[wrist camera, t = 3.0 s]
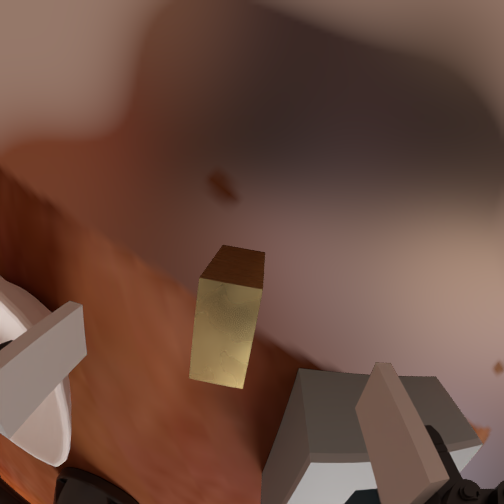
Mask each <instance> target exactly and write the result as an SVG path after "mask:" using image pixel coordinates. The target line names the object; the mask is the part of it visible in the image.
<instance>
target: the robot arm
mask: <svg viewBox="0 0 504 504" xmlns="http://www.w3.org/2000/svg"><path fill="white" fill-rule="evenodd" d="M86 355H87V350H86V341H85V332H84V320H83V306H82V305H81V304H78V303H75V302H72V301H69V302H67V303H66V304H64V305H63V306H61V307H60V308H58V309H57V310H55V311H54V312H53V313H51V314H50V315H48V316H47V317H45V318H44V319H43V320H41V321H40V322H38V323H37V324H36V325H34V326H33V327H31V328H30V329H29V330H27V331H26V332H24V333H23V334H22V335H20V336H19V337H18V338H16V339H15V340H14V341H13V340H10V341H7V342H4V343H1V344H0V433H1V434H2V435H4V436H5V437H6V438H8V439H10V438H11V437H12V436H13V435H14V433H15V432H16V431H17V430H18V429H19V428H20V427H21V425H22V424H23V423H24V422H25V421H26V420H27V419H28V417H29V416H30V415H31V414H32V413H33V412H34V411H35V410H36V408H37V407H38V406H39V405H40V404H41V403H42V402H43V401H44V400H45V399H46V397H47V396H48V395H49V394H50V393H51V392H52V391H53V390H54V389H55V388H56V387H57V385H58V384H59V383H60V382H61V381H62V380H63V379H64V378H65V377H66V376H67V375H68V374H69V373H70V372H71V371H72V369H73V368H74V367H75V366H76V365H77V364H78V363H79V362H80V361H81V360H82V359H83V358H84V357H85V356H86ZM355 410H356V414H357V417H358V420H359V424H360V427H361V430H362V434H363V437H364V441H365V444H366V448H367V451H368V455H369V459H370V462H371V466H372V470H373V473H374V477H375V481H376V485H377V489H378V493H379V497H380V501H381V504H504V481H502V482H501V483H500V484H499V485H498V486H497V487H496V488H495V489H480V487H479V486H478V485H477V484H476V483H475V482H473V481H471V480H467V479H462V477H461V475H460V473H459V471H458V469H457V467H456V465H455V463H454V461H453V459H452V457H451V455H450V453H449V452H448V449H447V447H446V445H445V444H444V441H443V439H442V437H441V435H440V434H439V432H438V431H437V430H435V429H434V428H433V427H432V426H431V425H424V424H423V422H422V420H421V418H420V416H419V414H418V412H417V410H416V409H415V407H414V405H413V403H412V401H411V399H410V397H409V395H408V394H407V392H406V390H405V388H404V386H403V384H402V382H401V381H400V379H399V377H398V375H397V373H396V372H395V370H394V368H393V366H392V364H391V363H379V362H376V363H375V366H374V368H373V370H372V372H371V375H370V377H369V379H368V382H367V384H366V386H365V388H364V390H363V392H362V395H361V397H360V399H359V401H358V403H357V405H356V407H355ZM0 477H1V476H0ZM0 504H31V503H29V502H28V501H27V500H26V499H24V498H23V497H22V496H21V495H20V494H18V493H17V492H16V491H15V490H14V489H13V488H11V487H10V486H9V485H8V484H7V483H6V482H5V481H4V480H3V479H1V478H0ZM53 504H138V503H137V502H136V501H135V500H134V499H133V498H132V497H130V496H129V495H128V494H126V493H125V492H123V491H122V490H120V489H119V488H117V487H116V486H114V485H112V484H110V483H109V482H107V481H105V480H103V479H101V478H99V477H97V476H95V475H93V474H90V473H88V472H85V471H83V470H80V469H76V468H70V467H66V468H63V469H62V471H61V472H60V474H59V475H58V477H57V480H56V487H55V494H54V502H53Z"/></svg>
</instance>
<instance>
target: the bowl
mask: <svg viewBox="0 0 504 504" xmlns="http://www.w3.org/2000/svg"><path fill="white" fill-rule="evenodd" d="M51 313H52V312H51V311H50V310H48V309H47V308H46V307H45V306H44V305H43V304H42V303H41V302H40V301H39V300H37V299H36V298H35V297H34V296H33V295H31V294H30V293H29V292H27V291H26V290H24V289H22V288H21V287H19V286H17V285H14V284H12V283H10V282H8V281H6V280H5V279H3V278H2V277H1V276H0V344H1V343H4V342H7V341H10V340H13V341H14V340H15V339H16V338H18V337H19V336H20V335H22V334H23V333H24V332H26V331H27V330H29V329H30V328H31V327H33V326H34V325H36V324H37V323H38V322H40V321H41V320H43V319H44V318H45V317H47V316H48V315H50V314H51ZM9 440H11V441H12V442H13V443H15V444H16V445H17V446H19V447H20V448H22V449H23V450H25V451H26V452H28V453H29V454H31V455H33V456H34V457H36V458H37V459H39V460H41V461H44V462H46V463H48V464H50V465H52V466H54V467H58V466H60V465H61V464H62V463H64V462H65V461H66V460H67V457H68V454H69V451H70V442H71V396H70V383H69V377H68V375H67V376H66V377H65V378H64V379H63V380H62V381H61V382H60V383H59V384H58V385H57V387H56V388H55V389H54V390H53V391H52V392H51V393H50V394H49V395H48V396H47V397H46V399H45V400H44V401H43V402H42V403H41V404H40V405H39V406H38V407H37V408H36V410H35V411H34V412H33V413H32V414H31V415H30V416H29V417H28V419H27V420H26V421H25V422H24V423H23V424H22V425H21V427H20V428H19V429H18V430H17V431H16V432H15V433H14V435H13V436H12V437H11V438H10V439H9Z"/></svg>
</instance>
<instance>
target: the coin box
mask: <svg viewBox="0 0 504 504" xmlns="http://www.w3.org/2000/svg"><path fill="white" fill-rule="evenodd" d="M369 377H370V375H365V374H352V373H340V372H329V371H320V370H311V369H302V368H299V370H298V373H297V376H296V379H295V382H294V386H293V389H292V392H291V395H290V398H289V401H288V404H287V407H286V410H285V413H284V416H283V419H282V421H281V424H280V427H279V430H278V433H277V435H276V438H275V441H274V444H273V446H272V449H271V452H270V454H269V457H268V460H267V462H266V465H265V467H264V470H263V472H262V487H261V504H381V501H380V497H379V493H378V489H377V485H376V481H375V477H374V473H373V470H372V466H371V462H370V459H369V455H368V451H367V448H366V444H365V441H364V437H363V434H362V430H361V427H360V424H359V420H358V417H357V414H356V410H355V407H356V405H357V403H358V401H359V399H360V397H361V395H362V392H363V390H364V388H365V386H366V384H367V382H368V379H369ZM398 377H399V379H400V381H401V382H402V384H403V386H404V388H405V390H406V392H407V394H408V395H409V397H410V399H411V401H412V403H413V405H414V407H415V409H416V410H417V412H418V414H419V416H420V418H421V420H422V422H423V424H424V425H431V426H432V427H433V428H434V429H435V430H437V431H438V432H439V434H440V435H441V437H442V439H443V441H444V444H445V445H446V447H447V449H448V452H449V453H450V455H451V457H452V459H453V461H454V463H455V465H456V467H457V469H458V471H459V473H460V472H461V470H462V469H463V468H464V467H465V466H466V465H467V464H468V462H469V461H470V460H471V459H472V458H473V456H474V455H475V454H476V453H477V451H478V450H479V449H480V448H481V446H482V445H483V443H482V442H481V440H480V439H479V437H478V436H477V434H476V433H475V431H474V430H473V428H472V427H471V425H470V424H469V422H468V421H467V419H466V418H465V417H464V415H463V414H462V412H461V411H460V409H459V408H458V406H457V405H456V404H455V402H454V401H453V399H452V398H451V397H450V395H449V394H448V392H447V391H446V390H445V388H444V387H443V386H442V384H441V383H440V382H439V380H438V379H437V377H417V376H416V377H415V376H398Z"/></svg>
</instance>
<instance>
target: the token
mask: <svg viewBox="0 0 504 504" xmlns="http://www.w3.org/2000/svg"><path fill="white" fill-rule="evenodd" d="M264 262H265V252H260V251H254V250H249V249H243V248H238V247H232V246H226V245H222V247H221V248H220V250H219V251H218V252H217V254H216V255H215V257H214V258H213V259H212V261H211V262H210V264H209V265H208V266H207V268H206V269H205V271H204V272H203V273H202V275H201V276H200V278H199V285H198V293H197V302H196V311H195V320H194V330H193V340H192V351H191V362H190V373H189V378H191V379H195V380H200V381H204V382H209V383H214V384H219V385H224V386H229V387H235V388H241V389H243V385H244V380H245V375H246V371H247V366H248V361H249V356H250V351H251V346H252V341H253V336H254V331H255V327H256V321H257V316H258V311H259V306H260V301H261V296H262V291H263V278H264Z"/></svg>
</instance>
